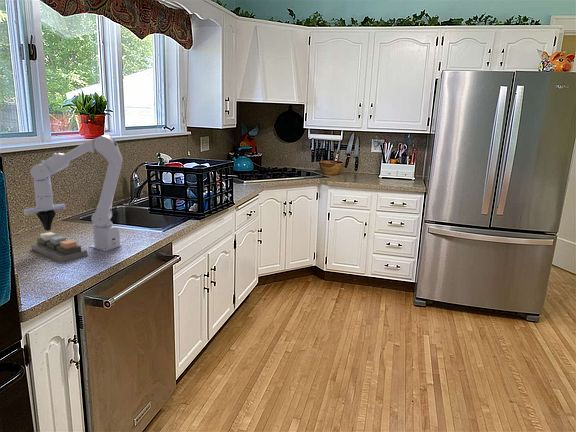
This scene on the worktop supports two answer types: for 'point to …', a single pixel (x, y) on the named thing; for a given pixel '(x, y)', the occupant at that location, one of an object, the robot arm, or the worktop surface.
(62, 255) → the key panel
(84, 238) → the worktop surface
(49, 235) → the off-white key
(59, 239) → the slate blue key
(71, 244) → the terracotta key
